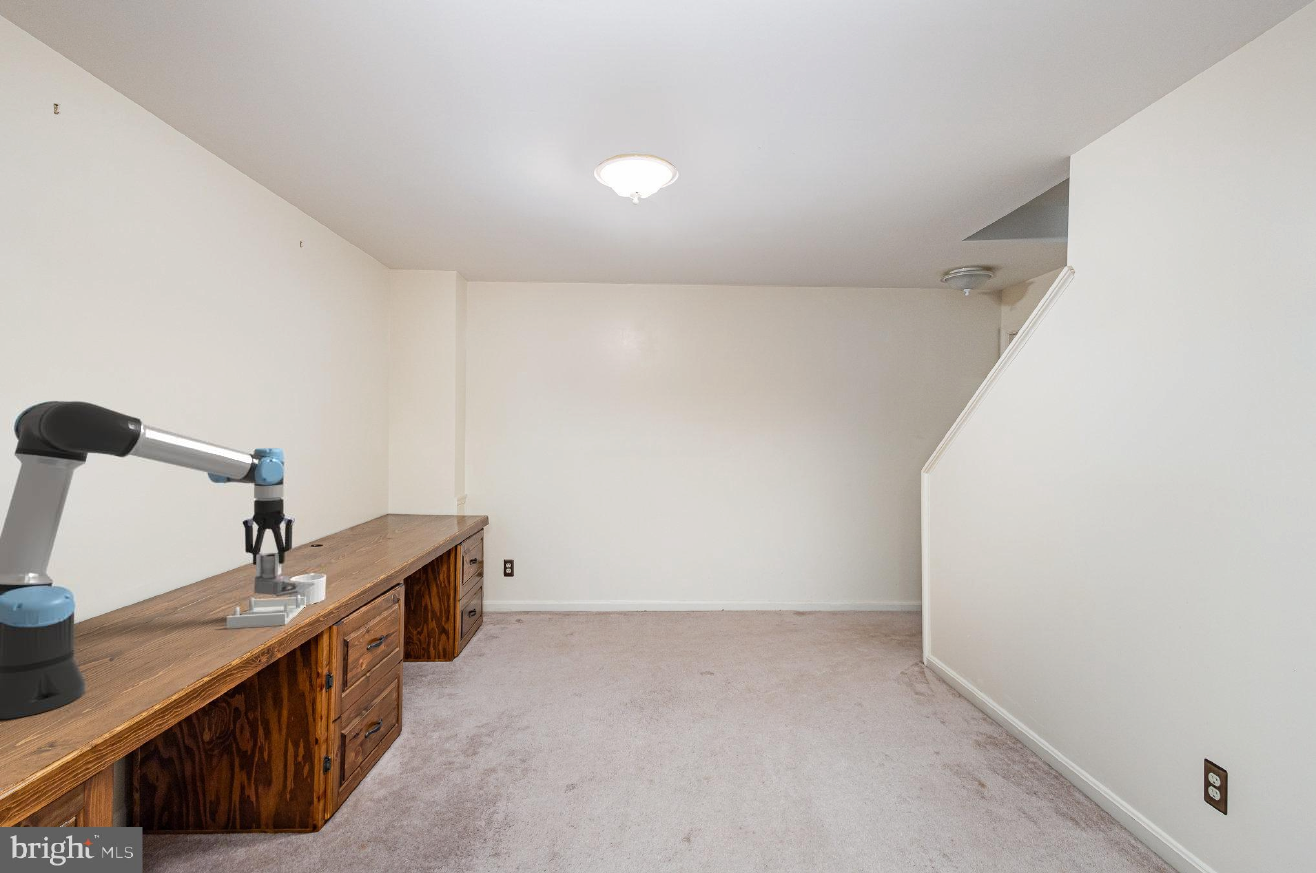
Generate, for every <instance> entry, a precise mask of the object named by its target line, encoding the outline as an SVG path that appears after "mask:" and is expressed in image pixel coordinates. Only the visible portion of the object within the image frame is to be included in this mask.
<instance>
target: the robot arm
mask: <svg viewBox="0 0 1316 873" xmlns="http://www.w3.org/2000/svg"><path fill="white" fill-rule="evenodd" d="M13 431H14V435H15V436H16V439H17V440H18V441H17V444H16V448H15V451H14V456H15V457H16V458H17V459H18V460H19V462H20V463H21V464H20V469H19V471H18V474H17V478H16V483H15V486H14V490H13V493H12V495H11V499H10V503H9V506H8V510H7V513H6V517H5V520H4V523H3V526H2V530H1V534H0V720H8V719H16V718H17V719H18V718H23V717H28V716H33V715H37V714H40V713H44V712H47V711H52V710H55V709H57V708H61V707H63V706H66V705H67V704H70V703H72V702H75V701H76V700H78V699H80V698H82V696H84V695H85V693H86V680H85V679H84V677H83V674H82V672H81V670H80V668H79V666H78V664H77V662H76V659H75V610H76V603H75V600H74V598H75V597H74V594H73V592H72V591H71V590H70V589H68V588H66V587H63V586H57V585H53V581H54V580H53V578H51V577H50V576H49V575H48V574H47V569H48V566H49V562H50V559H51V555H52V551H53V548H54V546H55V540H56V537H57V533H58V529H59V526H60V522H61V519H62V515H63V511H64V509H65V505H66V501H67V496H68V494H69V491H70V490H69V489H70V485H71V483H72V480H73V476H74V471H75V470H76V469H78V468H79V467H82V466H83V465H85V464H86V462H87V457H88V454H100V455H101V454H103V455H108V456H115V457H119V458H126V457H128V456H132V457H133V456H134V457H137V458H142V459H147V460H150V461H151V460H152V461H155V462H160V463H165V464H168V465H172V466H173V465H174V466H176V467H177V466H178V467H182V468H185V469H186V468H187V469H190V470H195V471H200V472H204V473H207V476H208V479H209V480H210V481H211V482H212V483H215V484H222V483H223V484H227V483H241V484H252V485H253V486H254V487H253V498H254V499H255V500H254V501H253V512H254V513H253V516H252V518H247V519H245V520H243V521H242V525H243V527H244V540H245V541H244V545H245V550H244V551H245V553H247V554H252V564H253V565H254V566H256V568H255V569H256V574H255V577H256V576H260V575H262V572H263V563H262V555H263V554H264V553H263V552H262V551H261V549H262V545H263V540H264V537H265V533H266V531H267V530H271V532H272V535H273V537H274V541H275V542H274V543H275V547H276V550H277V554H275V576H277V575H281V574H282V564H285V561H286V558H285V557H286V556H285V555H286V552H289V551H291V550H292V548H293V525H294V523H295V518H293V517H291V518H290V517H287V516H286V515H285V512H284V506H285V505H284V503H285V502H284V498H283V497H284V486H285V485H284V474H285V467H284V465H285V460H284V458H285V457H284V451H283V450H282V449H281V448H277V447H272V448H271V447H269V448H268V447H265V448H255V449H254V451H253V453H249V452H245V451H242V450H239V449H238V450H237V449H234V448H230V447H226V446H223V445H221V444H220V445H219V444H215V443H214V442H213V443H212V442H209V441H205V440H202V439H198V438H193V437H192V436H191V437H190V436H186V435H183V434H180V433H176V432H172V431H169V430H164V429H161V428H157V427H153V426H150V425H146V424H144V422H143V421H142V419H141V418H138V417H134V416H131V415H127V414H125V413H121V412H118V411H116V410H112V409H109V408H106V407H103V406H100V405H97V404H94V403H91V402H86V401H79V400H78V401H76V400H75V401H73V400H72V401H60V400H59V401H58V400H52V401H51V400H50V401H44V402H40V403H37V404H34V405H31V406H29V407H27V408H25V409H24V410H22V412H21V413H20V414H19V415H18V416H17V418H16V419H15V421H14V426H13ZM283 522H284V523H283ZM254 523H255V525H256V526H257V528H256V536H255V539H254ZM282 523H283V524H284V525H285V526H284V539H283V535H282V531H281V530H282V528H281V524H282ZM253 565H252V566H253Z"/></svg>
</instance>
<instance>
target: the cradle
mask: <svg viewBox="0 0 1316 873" xmlns="http://www.w3.org/2000/svg"><path fill="white" fill-rule="evenodd" d="M304 607H305V608H306V607H307V606H306V597H300V595H296V597H278V598H277V597H276V598H275V597H274V598H271V597H270V598H255V597H253V596H250V597H249V598H248V610H247V611H245V612H244V613H242V614H240V606H234V609H233V610H234V612H233V614H234V615H227V616H226V629H227V630H229V629H245V628H262V627H263V628H264V627H279V625H282V626H286V625H287V624H288V623H289V622H291V621H292V620H293V619H294V618H295V617H297V615H299V614H300V613H301V612H302V611H303V610H304V609H305V608H304ZM303 608H304V609H303ZM302 609H303V610H302ZM301 610H302V611H301ZM300 611H301V612H300ZM299 612H300V613H299ZM298 613H299V614H298ZM293 617H294V618H293ZM292 618H293V619H292ZM291 619H292V620H291ZM290 620H291V621H290ZM285 624H286V625H285Z"/></svg>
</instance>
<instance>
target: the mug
mask: <svg viewBox="0 0 1316 873" xmlns="http://www.w3.org/2000/svg"><path fill="white" fill-rule="evenodd" d="M289 579H290V580H292V581H300V585H305V584H310V583H314V584H315V585H313V586H311V587H309V588H307V589H305V590H303V591H301V592H299V593H295V594H289V596H290V597H296V595H300V597H306V605H307V606H310V605H309V604H314V603H316V602H320V601H322V600H324V599H325V600H326V588H327V586H326V585H327V583H326V582H327V575H326V574H323V573H314V572H310V573H308V574H302V575H300V574H299V575H297V576H292V577H290V578H289ZM298 586H299V585H298ZM290 588H292V586H289V589H290ZM290 597H289V598H290ZM325 600H324V601H325ZM314 605H315V604H314Z"/></svg>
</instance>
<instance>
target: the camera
mask: <svg viewBox="0 0 1316 873" xmlns="http://www.w3.org/2000/svg"><path fill="white" fill-rule="evenodd" d="M277 553H278V552H277ZM277 553H276V552H270V553H269V552H268V553H263V555H262V563H263V572H262V575H260V576H256V575H255V577H254V587H253V593H254V594H256V595H257V594H259V595H271V596H276V598H277V597H278V598H279V597H283V596H288V595H289V596H290V594H295V593H299V592H301V591H303V590H305V589H307V588H309V587H311V586H313V585H315V584H314V583H310V584H305V585H300V581H292V580H290V579H291V578H290V577H289V575H281V574H279V575H277V576H275V554H277ZM298 585H299V586H298ZM290 586H292V588H290Z"/></svg>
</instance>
